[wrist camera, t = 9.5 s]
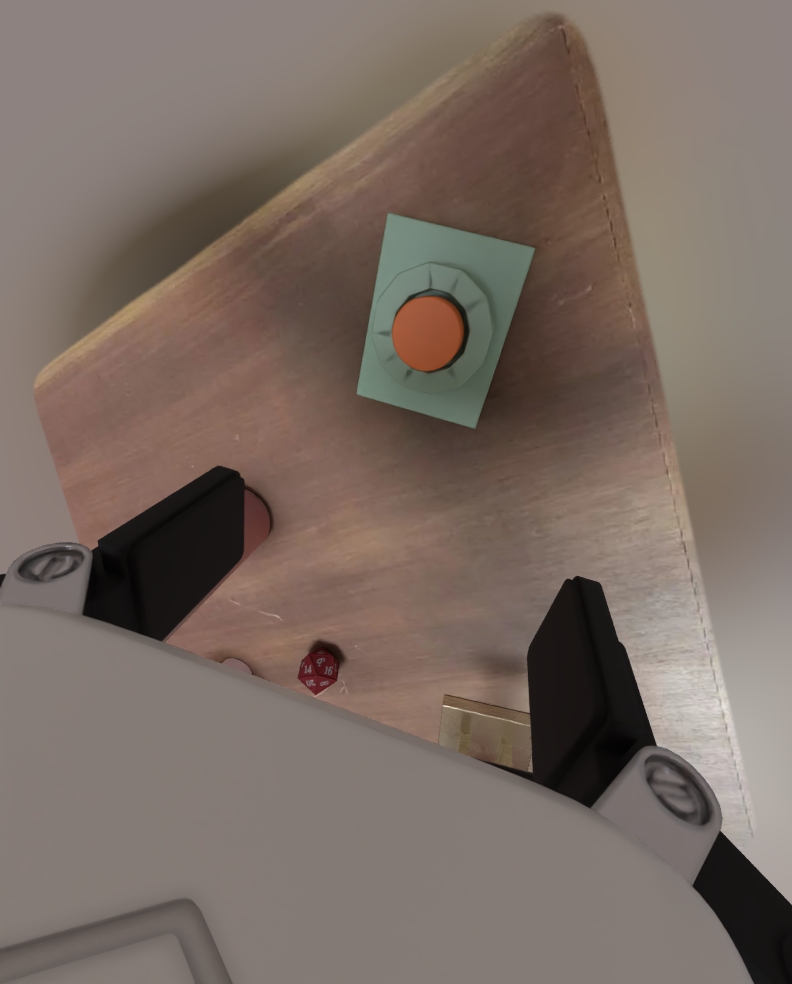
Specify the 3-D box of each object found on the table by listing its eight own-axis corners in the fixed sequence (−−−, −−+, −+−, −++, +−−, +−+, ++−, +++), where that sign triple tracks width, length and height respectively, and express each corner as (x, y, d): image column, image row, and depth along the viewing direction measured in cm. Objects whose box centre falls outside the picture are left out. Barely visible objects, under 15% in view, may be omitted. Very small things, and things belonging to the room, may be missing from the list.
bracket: (444, 694, 40) (415, 886, 27) (538, 715, 38) (556, 933, 25) (437, 759, 45) (409, 948, 32) (520, 781, 43) (526, 991, 30)
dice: (332, 635, 40) (315, 668, 36) (351, 667, 41) (337, 702, 38) (302, 640, 41) (283, 673, 38) (322, 671, 43) (306, 705, 39)
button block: (397, 218, 23) (378, 205, 20) (533, 251, 22) (538, 243, 19) (366, 387, 28) (346, 401, 24) (477, 419, 27) (473, 438, 24)
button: (407, 288, 21) (400, 287, 20) (472, 305, 21) (470, 306, 19) (393, 356, 23) (385, 361, 22) (453, 373, 23) (449, 379, 21)
